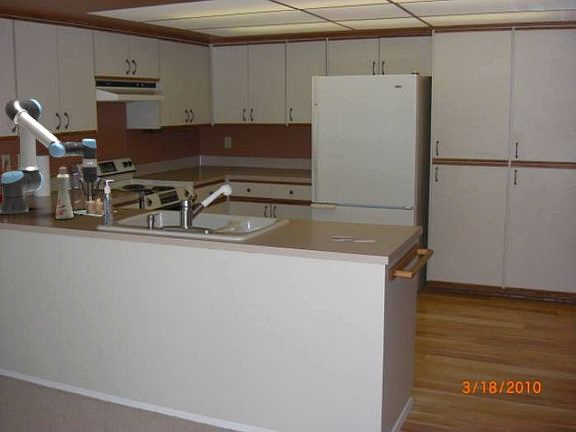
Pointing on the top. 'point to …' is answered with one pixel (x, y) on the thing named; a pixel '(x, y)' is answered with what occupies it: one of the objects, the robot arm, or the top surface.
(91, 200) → the fence panel
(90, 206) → the fence fixed leg
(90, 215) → the board
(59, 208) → the bottle
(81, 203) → the wooden block
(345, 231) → the top surface
